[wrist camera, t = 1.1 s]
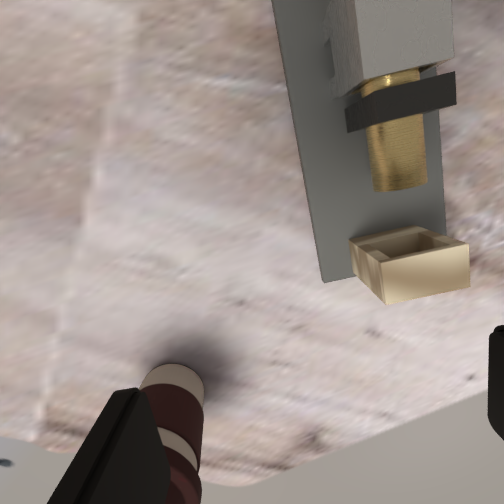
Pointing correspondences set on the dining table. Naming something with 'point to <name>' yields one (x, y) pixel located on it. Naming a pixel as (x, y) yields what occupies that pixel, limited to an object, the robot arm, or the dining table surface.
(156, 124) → the dining table surface
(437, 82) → the tube
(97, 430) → the robot arm
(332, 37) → the sleeve
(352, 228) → the board
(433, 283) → the socket
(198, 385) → the coffee cup
